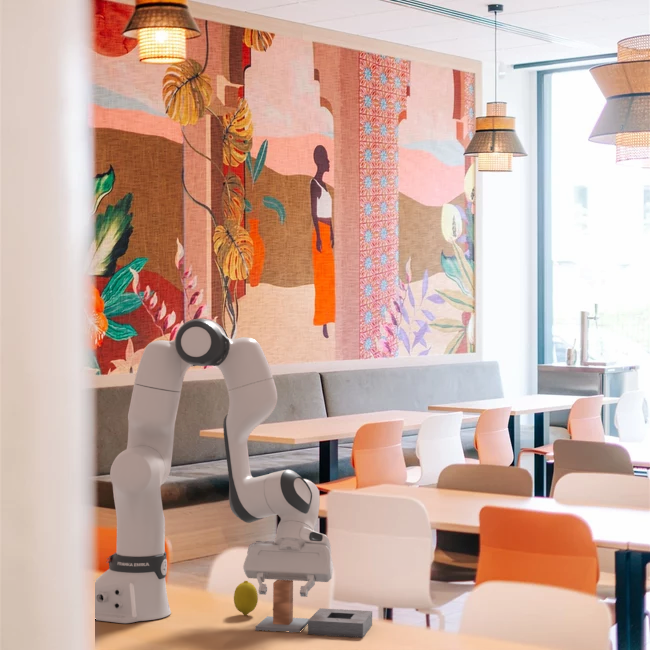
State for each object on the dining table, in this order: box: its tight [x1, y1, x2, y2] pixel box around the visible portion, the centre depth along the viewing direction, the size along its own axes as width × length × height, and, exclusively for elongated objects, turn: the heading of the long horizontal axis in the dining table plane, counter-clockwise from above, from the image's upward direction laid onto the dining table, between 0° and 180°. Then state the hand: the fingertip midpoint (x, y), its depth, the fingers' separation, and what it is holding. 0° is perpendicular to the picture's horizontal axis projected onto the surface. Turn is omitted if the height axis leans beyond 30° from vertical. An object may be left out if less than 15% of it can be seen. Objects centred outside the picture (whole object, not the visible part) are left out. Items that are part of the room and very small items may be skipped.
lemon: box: [233, 580, 259, 616], centre depth 246 cm, size 6×6×8 cm
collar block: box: [307, 607, 373, 639], centre depth 233 cm, size 12×12×3 cm
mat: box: [254, 615, 310, 633], centre depth 236 cm, size 10×10×1 cm
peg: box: [272, 580, 294, 625], centre depth 236 cm, size 4×4×9 cm
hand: (282, 594), depth 235 cm, fingers open, 8 cm apart
